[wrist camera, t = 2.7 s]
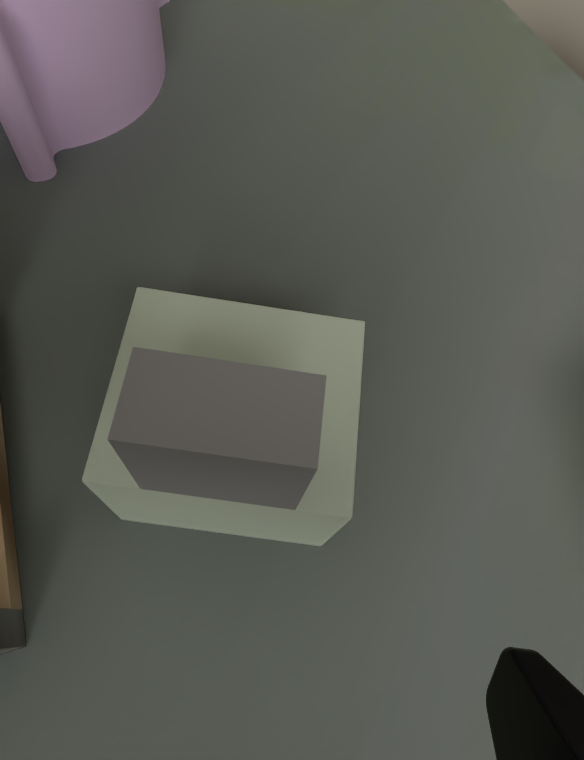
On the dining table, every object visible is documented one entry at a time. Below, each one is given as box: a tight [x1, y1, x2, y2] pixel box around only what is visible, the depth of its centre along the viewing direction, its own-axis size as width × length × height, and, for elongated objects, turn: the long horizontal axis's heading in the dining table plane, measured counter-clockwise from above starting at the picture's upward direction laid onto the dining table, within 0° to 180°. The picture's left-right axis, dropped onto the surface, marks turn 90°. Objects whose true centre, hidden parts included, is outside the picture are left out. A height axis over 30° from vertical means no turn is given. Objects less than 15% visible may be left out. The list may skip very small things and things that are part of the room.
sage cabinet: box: [82, 287, 365, 546], centre depth 16 cm, size 6×7×10 cm
